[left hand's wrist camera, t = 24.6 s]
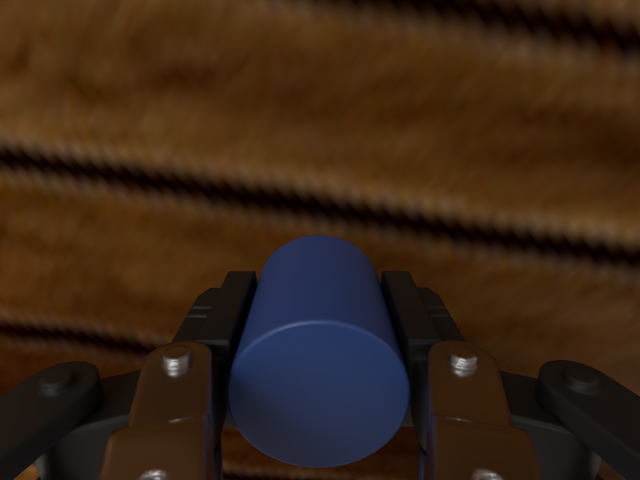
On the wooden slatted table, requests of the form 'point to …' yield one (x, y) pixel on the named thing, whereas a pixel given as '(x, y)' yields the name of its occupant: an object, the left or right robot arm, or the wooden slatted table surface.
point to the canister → (318, 358)
